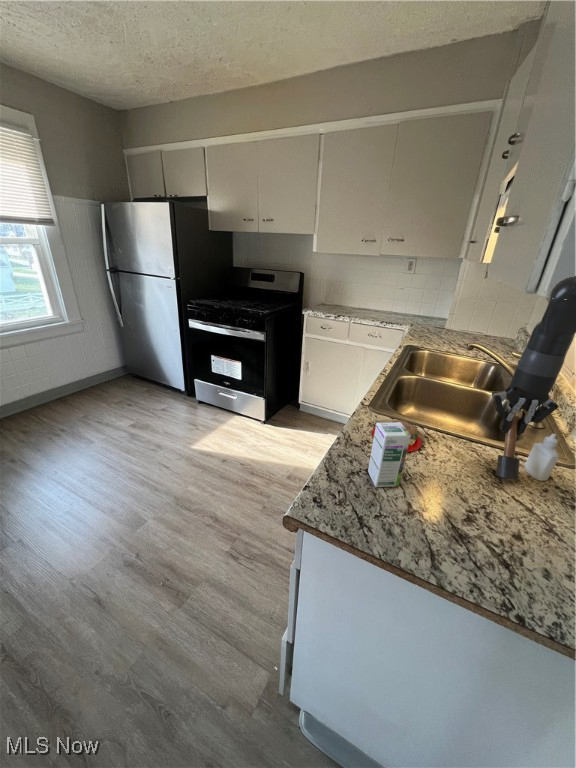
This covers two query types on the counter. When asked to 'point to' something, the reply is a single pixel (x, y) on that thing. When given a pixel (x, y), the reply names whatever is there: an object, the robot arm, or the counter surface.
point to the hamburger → (414, 437)
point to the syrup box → (388, 454)
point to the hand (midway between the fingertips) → (510, 432)
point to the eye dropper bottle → (542, 458)
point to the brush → (509, 454)
